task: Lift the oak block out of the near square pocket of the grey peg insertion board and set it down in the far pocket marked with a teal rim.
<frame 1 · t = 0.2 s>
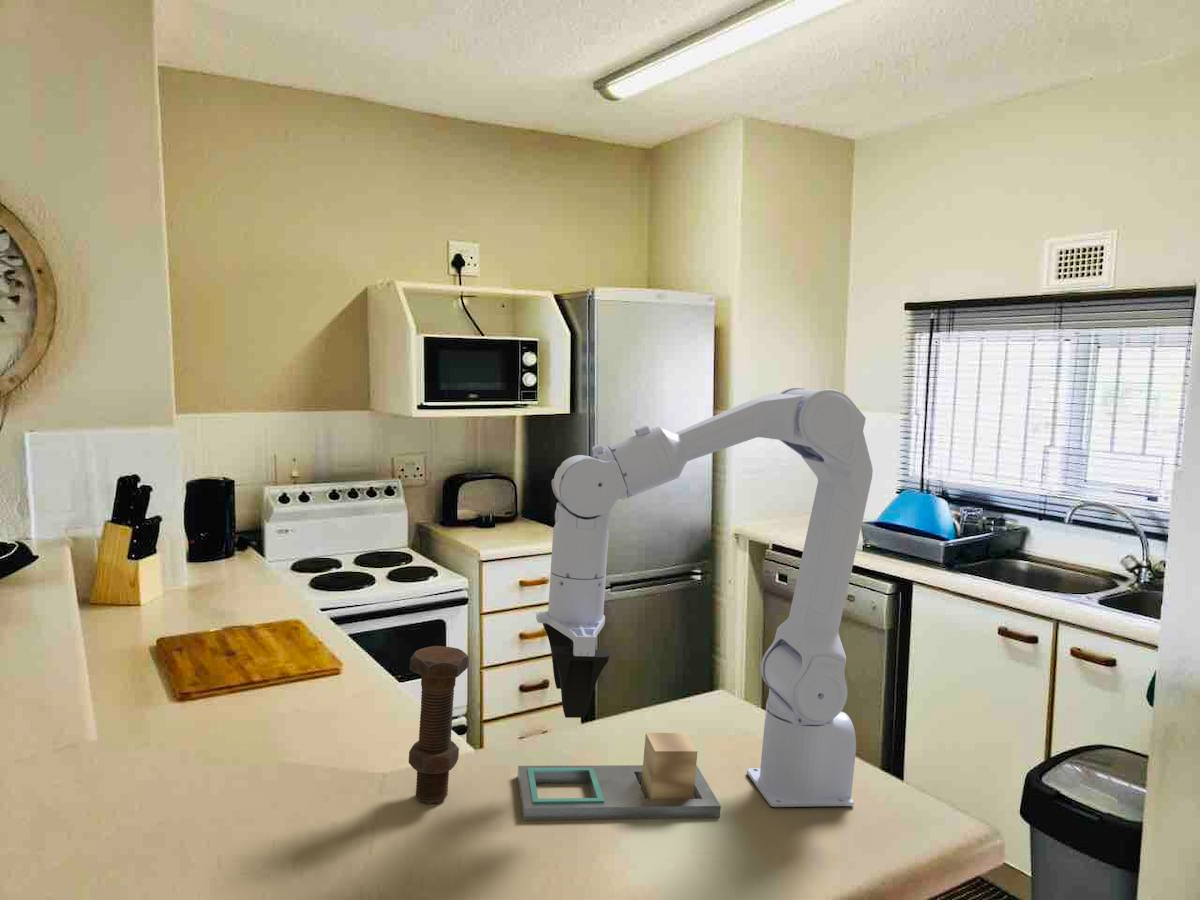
hand: (569, 701, 87), 10 cm above the countertop, tool pointing down, fingers open, 7 cm apart
bolt: (431, 800, 85), on the countertop
oak block: (666, 796, 89), resting in grey peg insertion board
grey peg insertion board: (615, 796, 88), on the countertop
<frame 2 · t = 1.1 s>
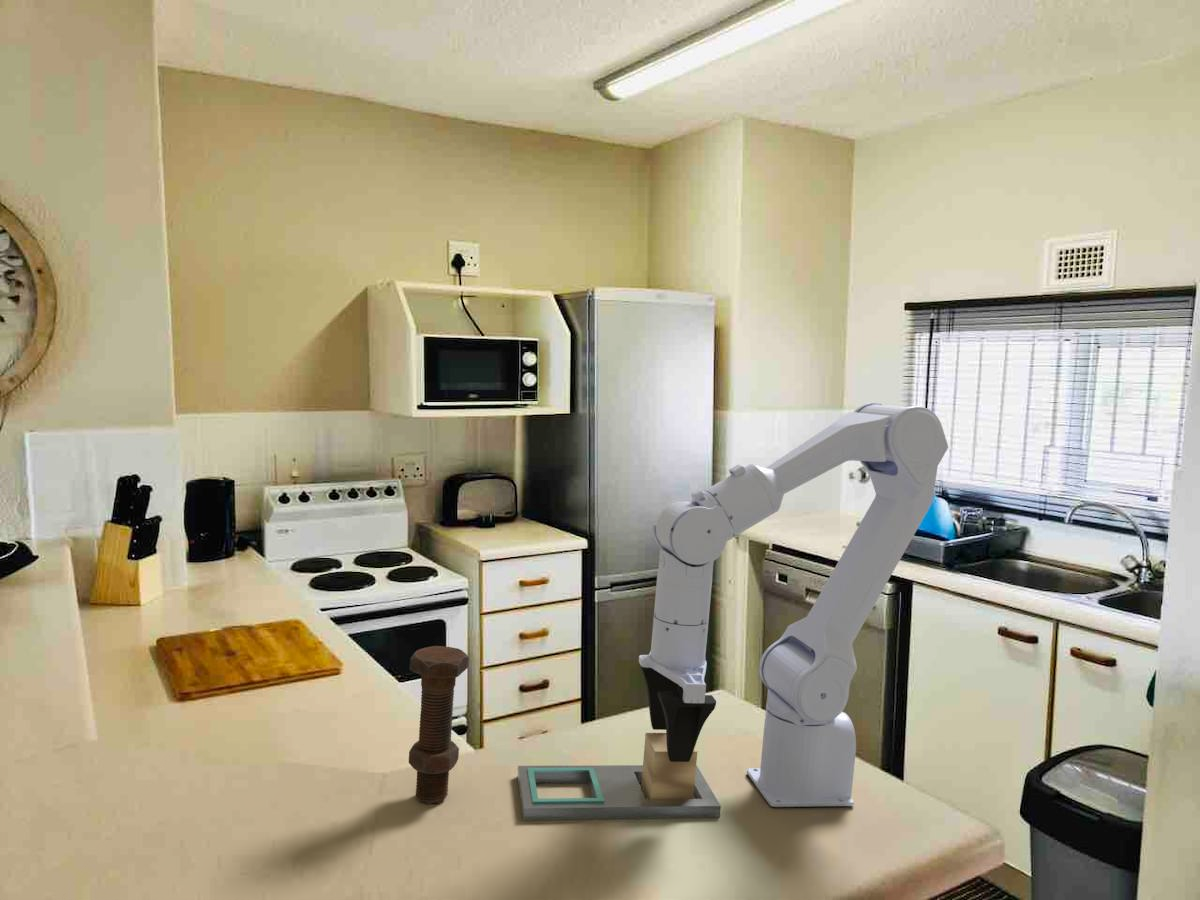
hand: (669, 743, 89), 6 cm above the countertop, tool pointing down, fingers open, 7 cm apart
nothing on the countertop moved.
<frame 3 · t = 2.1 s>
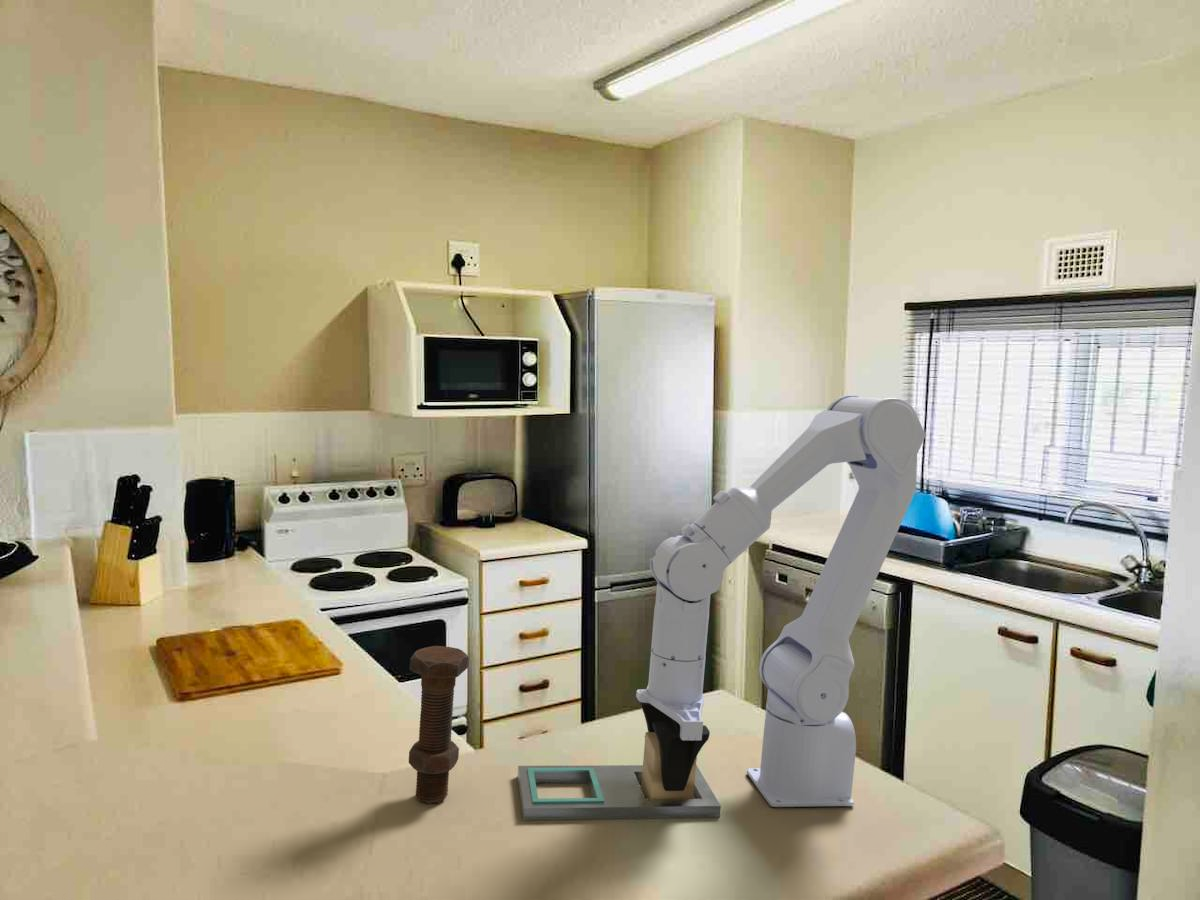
hand: (667, 777, 89), 2 cm above the countertop, tool pointing down, fingers closed on oak block, 4 cm apart
oak block: (666, 795, 89), resting in grey peg insertion board, touching gripper
everything else where it was.
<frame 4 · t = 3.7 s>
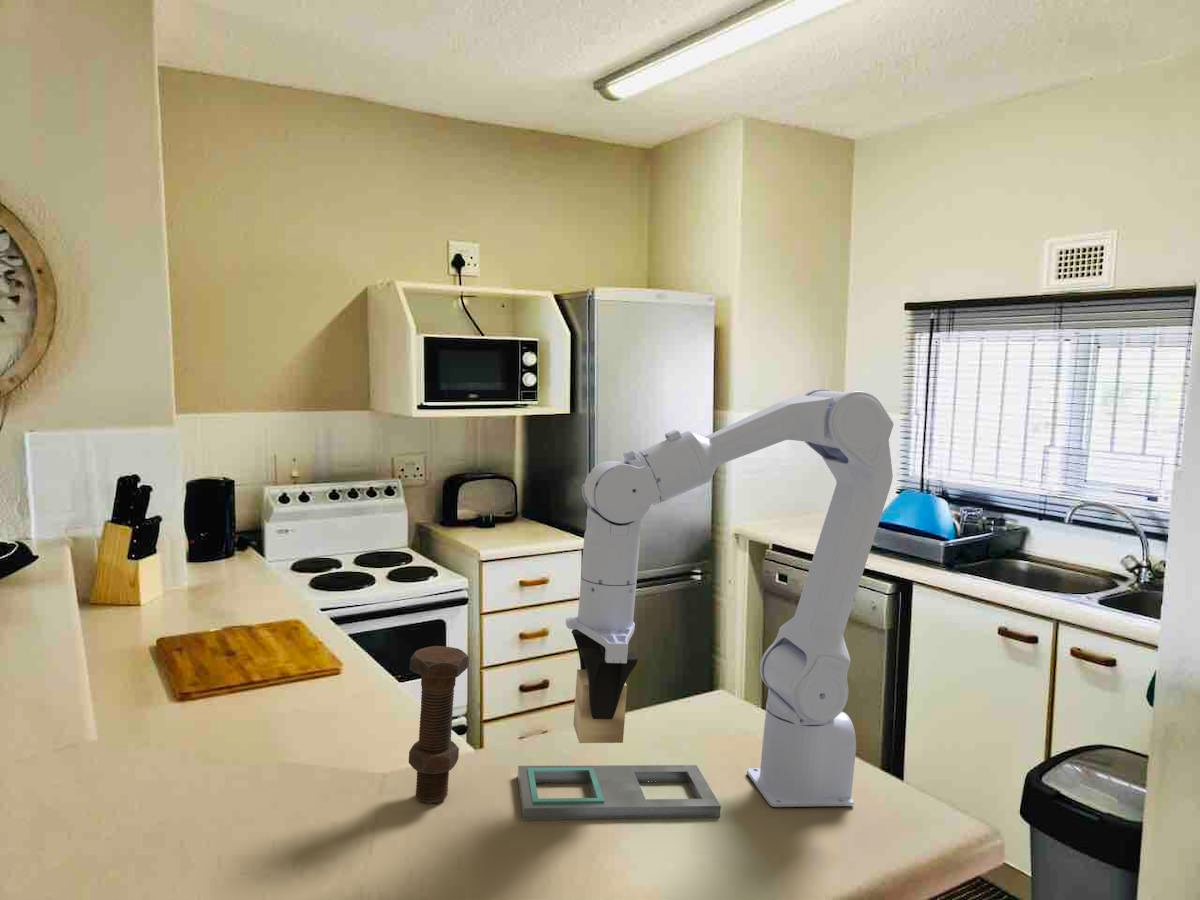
hand: (598, 707, 87), 10 cm above the countertop, tool pointing down, fingers closed on oak block, 4 cm apart
oak block: (597, 733, 87), point 7 cm above the countertop, touching gripper
everything else where it was.
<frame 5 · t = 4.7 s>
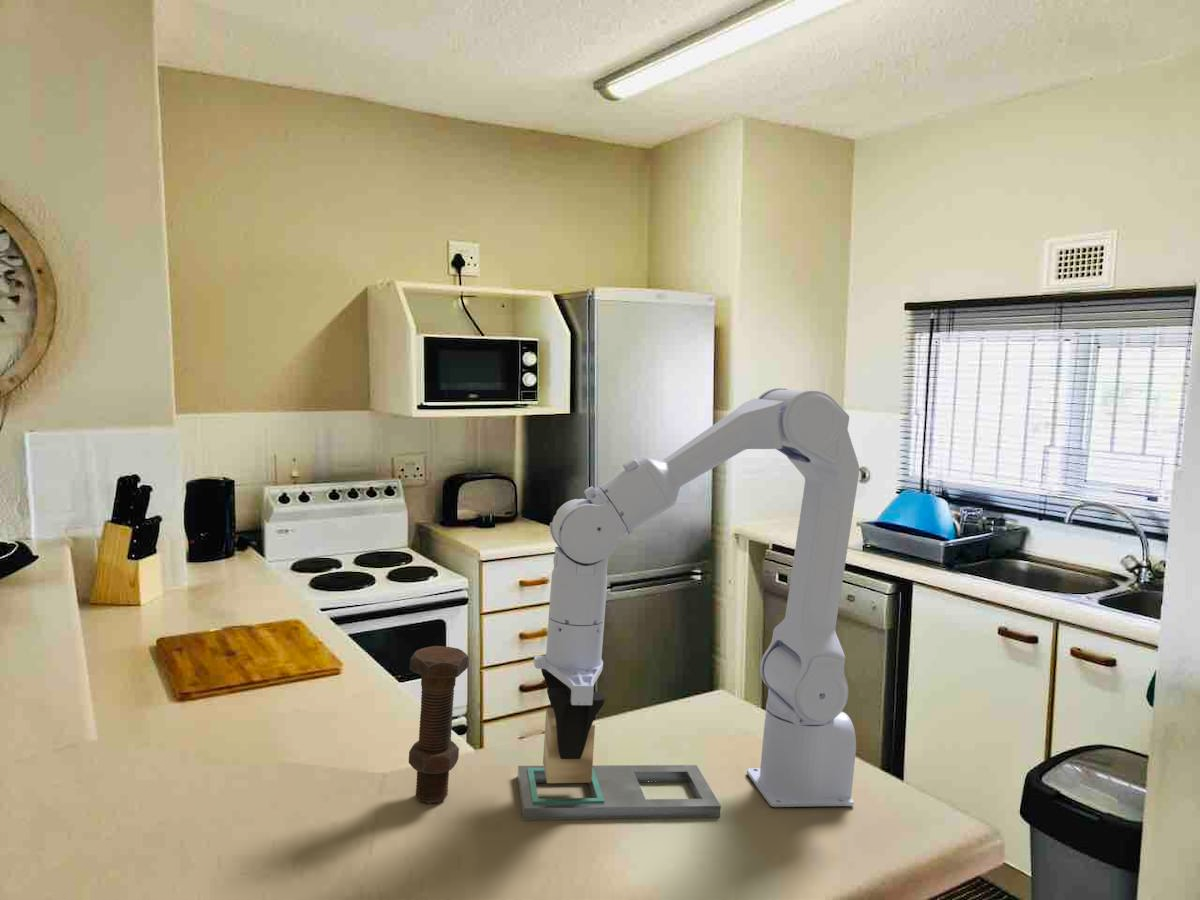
hand: (567, 746, 87), 5 cm above the countertop, tool pointing down, fingers closed on oak block, 4 cm apart
oak block: (566, 772, 87), point 3 cm above the countertop, touching gripper
everything else where it was.
when the fingers open (3 cm above the countertop, at t = 5.6 s): oak block stays where it is, resting in grey peg insertion board.
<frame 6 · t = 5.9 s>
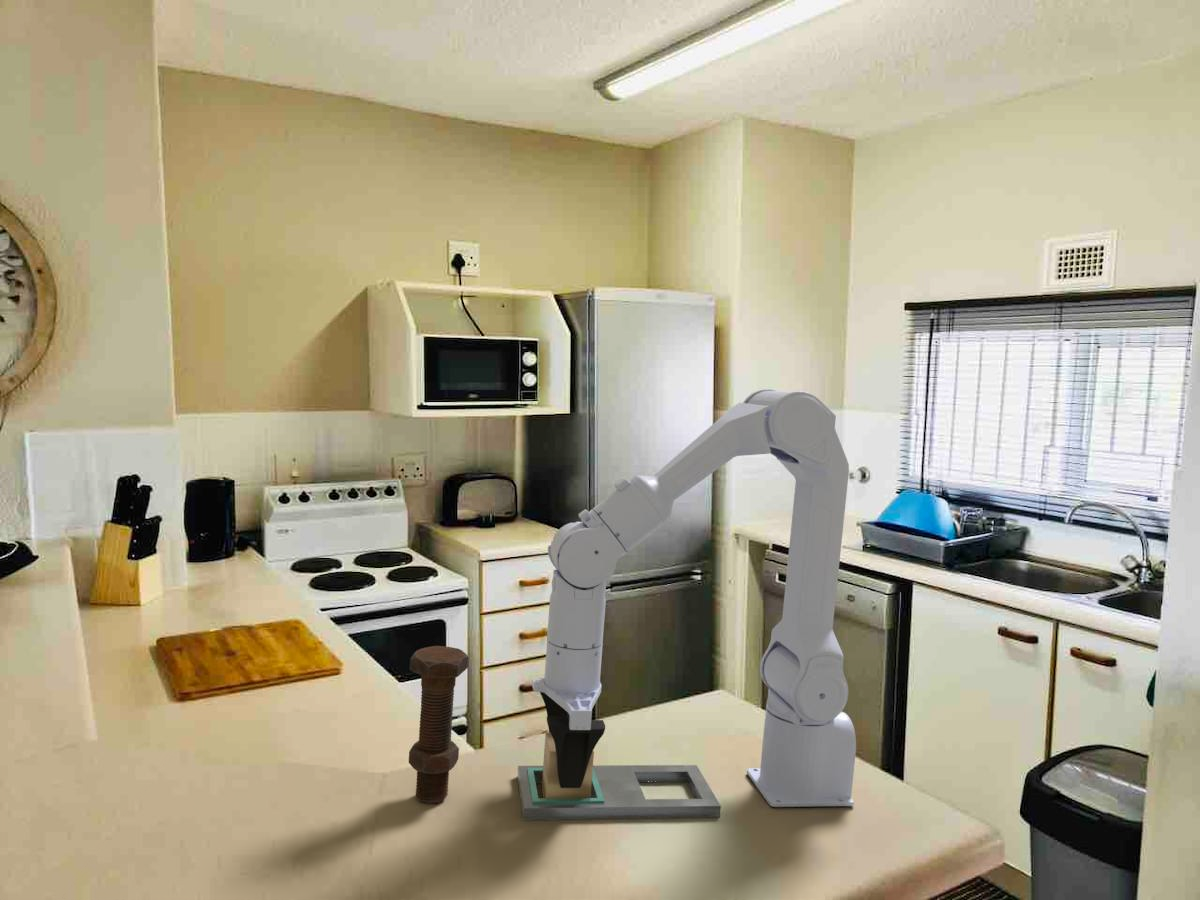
hand: (565, 768, 87), 3 cm above the countertop, tool pointing down, fingers open, 7 cm apart
oak block: (565, 797, 87), resting in grey peg insertion board
everything else where it was.
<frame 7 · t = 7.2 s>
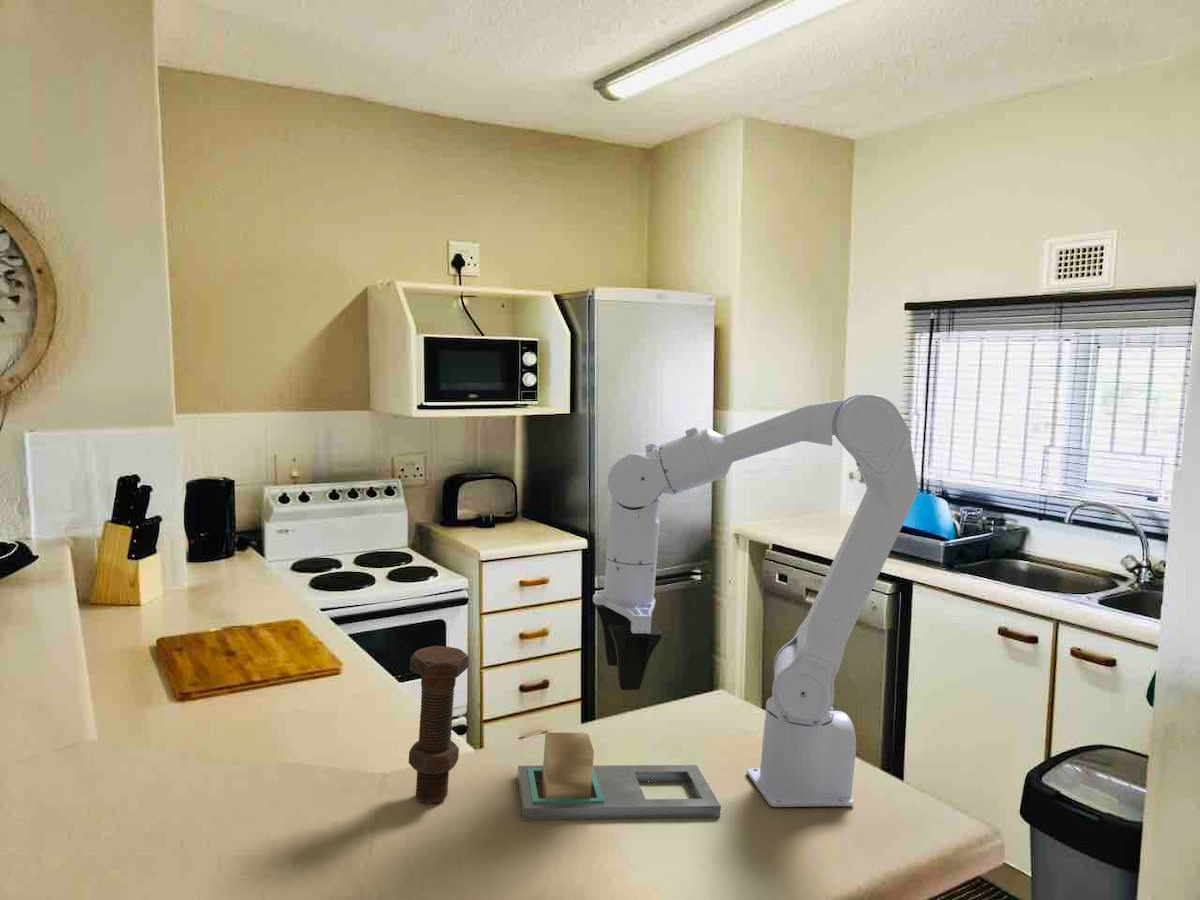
hand: (622, 676, 96), 10 cm above the countertop, tool pointing down, fingers open, 7 cm apart
nothing on the countertop moved.
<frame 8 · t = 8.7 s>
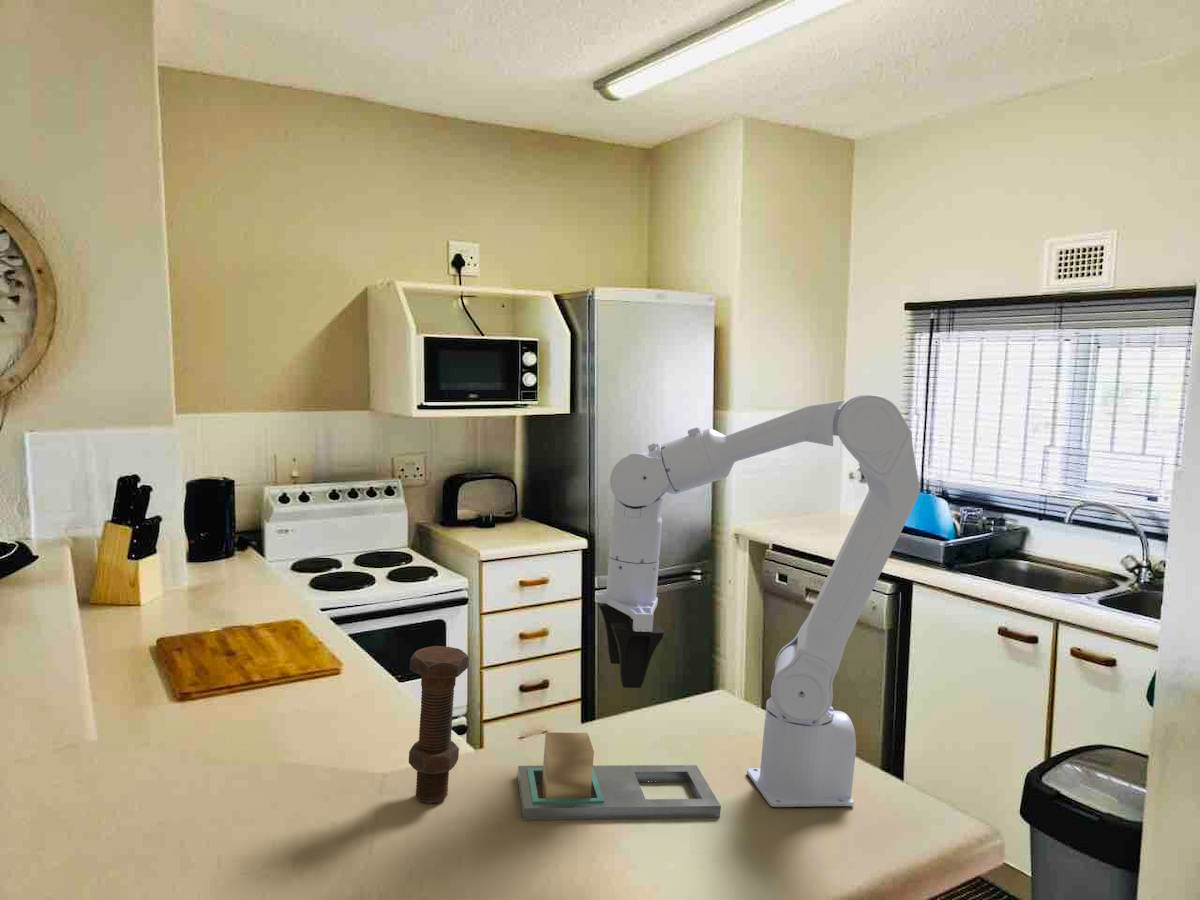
hand: (625, 674, 97), 10 cm above the countertop, tool pointing down, fingers open, 7 cm apart
nothing on the countertop moved.
at the end: oak block 0.2 cm from the target spot on the grey peg insertion board, point 0.0 cm above the grey peg insertion board's base; oak block tilted 0°; the gripper is holding nothing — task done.
